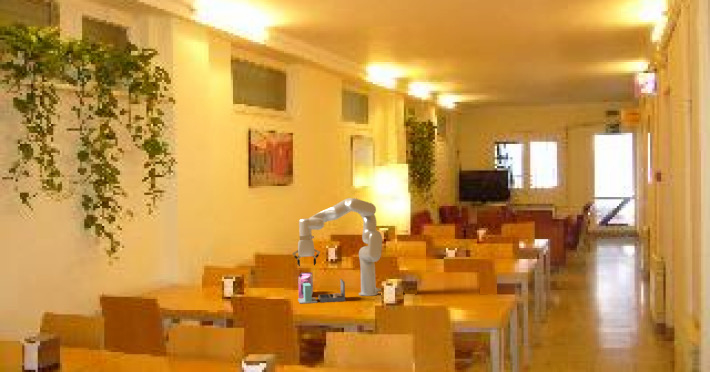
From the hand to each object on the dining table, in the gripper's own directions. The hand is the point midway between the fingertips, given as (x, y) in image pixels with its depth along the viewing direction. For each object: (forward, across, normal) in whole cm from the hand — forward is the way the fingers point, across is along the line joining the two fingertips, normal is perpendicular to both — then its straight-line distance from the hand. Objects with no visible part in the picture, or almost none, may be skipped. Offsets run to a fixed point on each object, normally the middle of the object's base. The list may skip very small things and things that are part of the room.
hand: (306, 265), depth 512 cm
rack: (+23, -14, 0) cm, 27 cm away
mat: (+22, +1, 0) cm, 22 cm away
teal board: (+22, 0, 0) cm, 22 cm away
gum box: (+23, 0, -25) cm, 34 cm away
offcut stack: (+23, -19, 0) cm, 30 cm away
